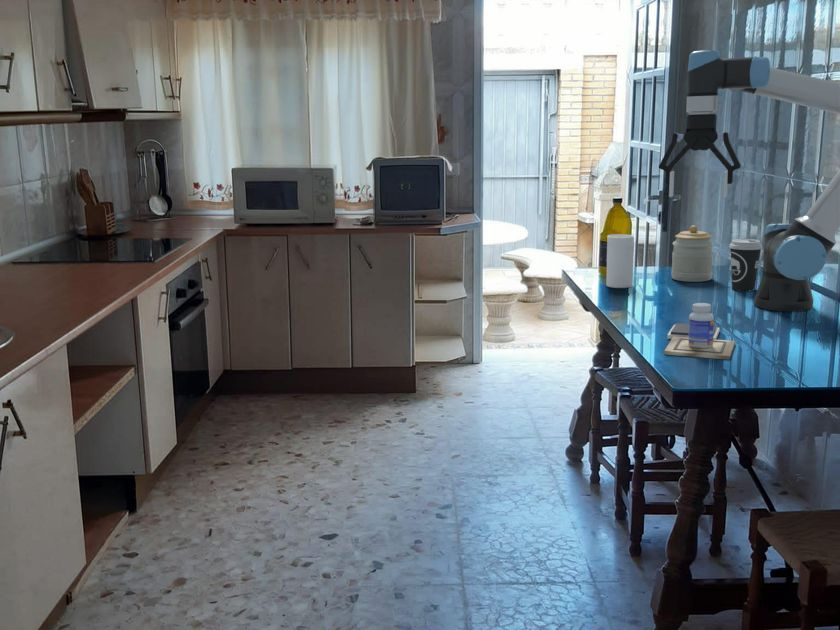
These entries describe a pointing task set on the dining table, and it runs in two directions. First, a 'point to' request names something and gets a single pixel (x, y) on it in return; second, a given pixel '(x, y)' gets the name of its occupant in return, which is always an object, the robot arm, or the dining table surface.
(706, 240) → the jar
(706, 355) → the marked board
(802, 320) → the dining table surface
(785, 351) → the dining table surface
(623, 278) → the cup
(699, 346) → the pill bottle
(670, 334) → the ink pad
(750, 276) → the coffee cup
